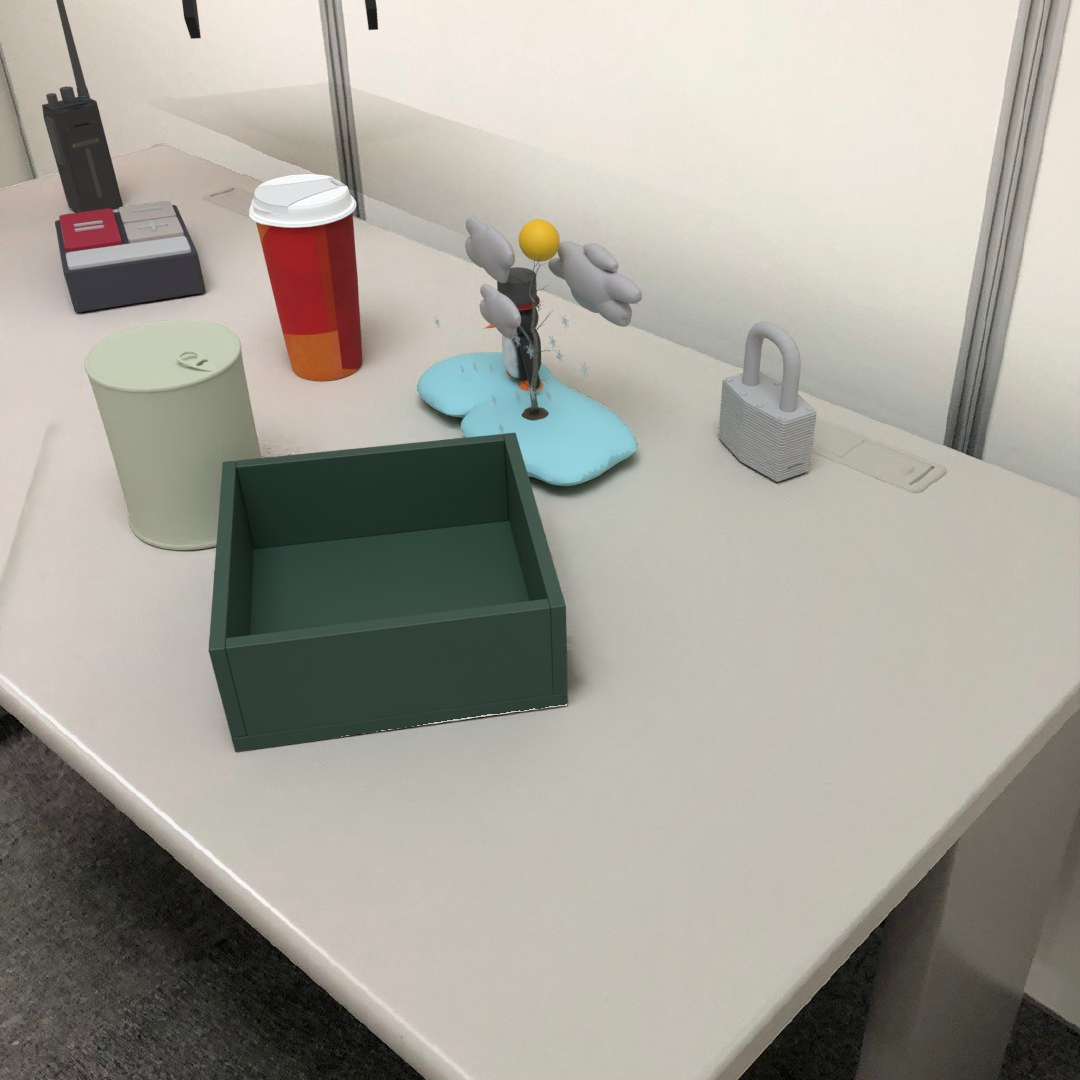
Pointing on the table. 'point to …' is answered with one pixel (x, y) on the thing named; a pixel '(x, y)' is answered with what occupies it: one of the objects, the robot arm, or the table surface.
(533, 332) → the blue and grey toy
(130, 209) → the calculator
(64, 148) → the walkie-talkie
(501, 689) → the bin
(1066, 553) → the table surface
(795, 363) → the padlock
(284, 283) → the paper cup
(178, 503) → the can
